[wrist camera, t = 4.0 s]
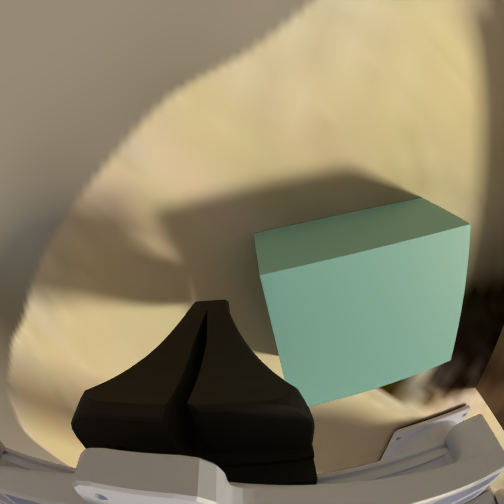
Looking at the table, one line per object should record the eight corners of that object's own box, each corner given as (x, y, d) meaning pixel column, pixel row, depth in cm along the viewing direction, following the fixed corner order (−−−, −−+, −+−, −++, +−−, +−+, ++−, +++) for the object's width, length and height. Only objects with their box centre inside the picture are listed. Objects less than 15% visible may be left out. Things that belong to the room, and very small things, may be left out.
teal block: (416, 315, 16) (450, 360, 12) (281, 352, 16) (291, 410, 13) (419, 196, 13) (470, 223, 9) (252, 231, 13) (259, 275, 10)
